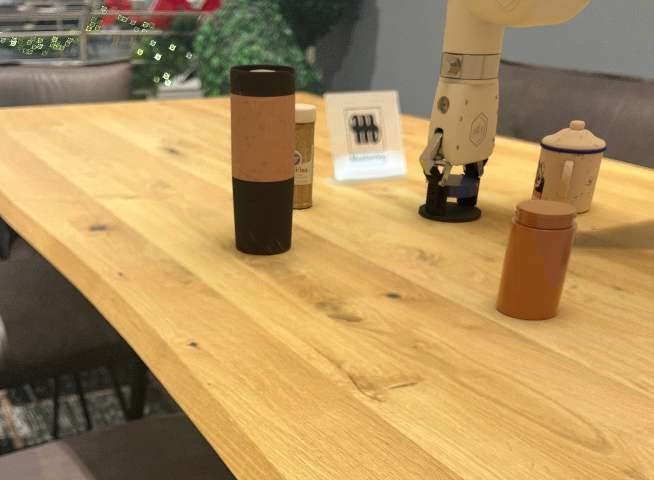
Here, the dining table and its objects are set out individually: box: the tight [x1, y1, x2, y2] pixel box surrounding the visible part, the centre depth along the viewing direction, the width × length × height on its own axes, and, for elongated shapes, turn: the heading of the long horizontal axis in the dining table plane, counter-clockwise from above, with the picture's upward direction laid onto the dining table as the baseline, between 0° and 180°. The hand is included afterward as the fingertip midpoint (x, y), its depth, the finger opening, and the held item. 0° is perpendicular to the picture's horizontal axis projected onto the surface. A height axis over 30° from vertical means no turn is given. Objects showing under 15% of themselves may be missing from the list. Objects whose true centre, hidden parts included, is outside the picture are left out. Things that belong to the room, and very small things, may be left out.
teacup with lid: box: [530, 119, 607, 214], centre depth 110 cm, size 12×9×12 cm
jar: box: [495, 199, 579, 321], centre depth 78 cm, size 6×6×10 cm
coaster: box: [418, 201, 483, 223], centre depth 111 cm, size 9×9×1 cm
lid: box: [446, 173, 479, 199], centre depth 109 cm, size 7×7×2 cm
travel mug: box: [229, 63, 297, 256], centre depth 92 cm, size 8×8×20 cm
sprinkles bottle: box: [293, 103, 317, 209], centre depth 110 cm, size 5×5×13 cm
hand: (450, 208), depth 110 cm, fingers closed on lid, 6 cm apart
